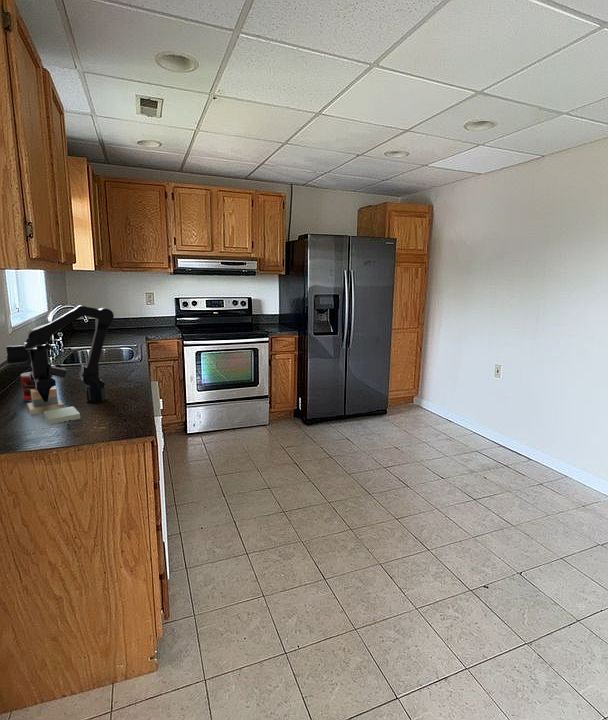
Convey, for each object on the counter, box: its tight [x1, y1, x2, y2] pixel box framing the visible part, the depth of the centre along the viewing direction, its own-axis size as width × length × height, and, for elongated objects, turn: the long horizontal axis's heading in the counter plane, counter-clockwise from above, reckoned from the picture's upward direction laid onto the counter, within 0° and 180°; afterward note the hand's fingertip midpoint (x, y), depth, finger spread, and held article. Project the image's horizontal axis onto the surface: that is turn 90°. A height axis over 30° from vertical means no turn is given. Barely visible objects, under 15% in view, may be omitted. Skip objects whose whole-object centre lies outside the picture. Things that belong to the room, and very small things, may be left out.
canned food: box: [20, 371, 36, 401], centre depth 176 cm, size 8×8×11 cm
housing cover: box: [30, 386, 58, 400], centre depth 163 cm, size 8×6×3 cm
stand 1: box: [26, 397, 65, 415], centre depth 164 cm, size 11×10×2 cm
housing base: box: [31, 395, 58, 408], centre depth 164 cm, size 8×6×3 cm
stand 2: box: [42, 406, 81, 425], centre depth 155 cm, size 11×10×2 cm
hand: (44, 400), depth 164 cm, fingers closed on housing base, housing cover, 5 cm apart
